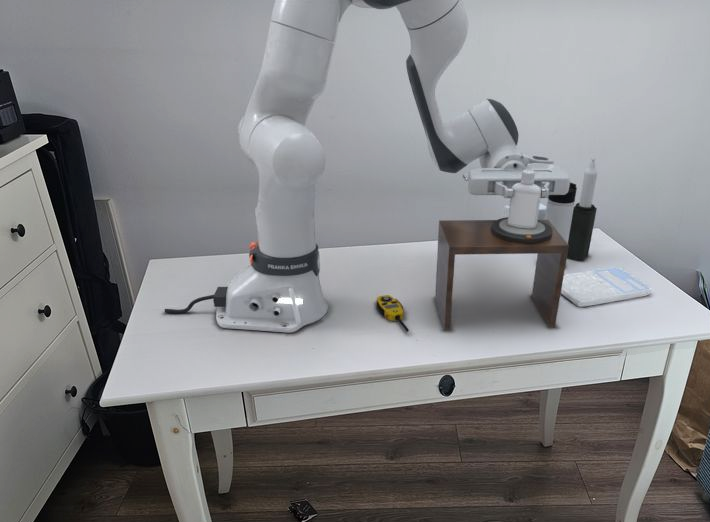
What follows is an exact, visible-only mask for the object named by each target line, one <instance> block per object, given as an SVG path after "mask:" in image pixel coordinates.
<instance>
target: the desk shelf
mask: <svg viewBox="0 0 710 522" xmlns="http://www.w3.org/2000/svg"><path fill="white" fill-rule="evenodd" d="M496 220H497V219H462V220H461V219H460V220H457V219H455V220H453V219H451V220H444V219H443V220H438V233H437V234H438V235H437V253H436V254H437V256H436V275H435V293H434V294H435V295H434V300H435V304H436V307H437V311H438V314H439V317H440V320H441V324H442V328H443V331H446V332H447V331H451V321H452V320H451V319H452V308H453V307H452V304H453V290H454V275H455V262H456V261H455V260H456V255H459V256H460V255H462V256H463V255H517V254H518V255H519V254H521V255H522V254H523V255H524V254H525V255H527V254H528V255H529V254H530V255H531V254H536V255H537V256H536V263H535V271H534V278H533V284H532V290H531V291H532V292H531V298H532V300H533V302H534V304H535V305H536V307H537V308H538V310H539V312H540V314H541V315H542V318H543V319H544V321H545V323H546V324H547V326H548V327H549V328H550V329H552V328H556V323H557V317H558V311H559V305H560V300H561V295H562V294H561V289H562V283H563V277H564V275H565V271H566V265H567V259H568V258H567V253H568V248H569V245H568V244H567V242H566V241H565V240H564V239H563V238H562V236H561V235H560V234H559V233H558V231H557V230H556V229H555V228H554V226H553V225H552V224H551V223H550V221H549V220H539V221H542V222H545V223H547V224H548V225H550V226H551V227H552V230H553V232H552V237H551V238H550V239H549V240H547V241H544V242H540V243H532V244H524V243H515V242H510V241H506V240H503V239H500V238H498V237H496V236H495V235H494V234H493V233H492V232H491V225H492V223H493V222H494V221H496Z"/></svg>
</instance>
